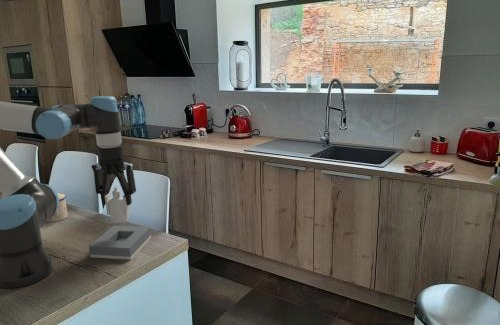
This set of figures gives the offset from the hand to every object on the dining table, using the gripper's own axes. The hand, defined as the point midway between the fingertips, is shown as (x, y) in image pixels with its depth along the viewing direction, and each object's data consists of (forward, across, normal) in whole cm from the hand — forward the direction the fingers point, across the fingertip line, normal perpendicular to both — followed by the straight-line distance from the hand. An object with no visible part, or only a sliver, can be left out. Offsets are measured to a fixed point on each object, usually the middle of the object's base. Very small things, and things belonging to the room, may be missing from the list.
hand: (119, 213), depth 128 cm
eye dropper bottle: (+3, 0, 0) cm, 3 cm away
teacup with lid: (+12, +39, -20) cm, 46 cm away
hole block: (+12, 0, 0) cm, 12 cm away
